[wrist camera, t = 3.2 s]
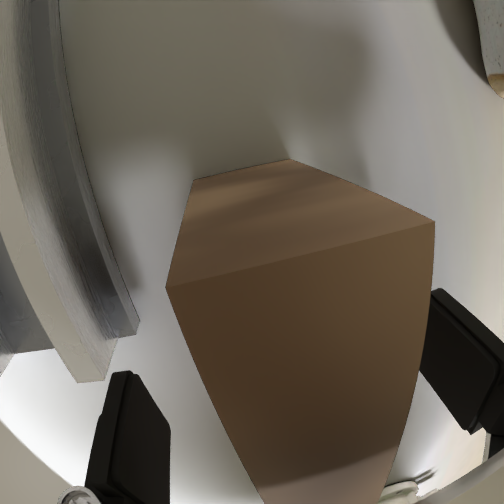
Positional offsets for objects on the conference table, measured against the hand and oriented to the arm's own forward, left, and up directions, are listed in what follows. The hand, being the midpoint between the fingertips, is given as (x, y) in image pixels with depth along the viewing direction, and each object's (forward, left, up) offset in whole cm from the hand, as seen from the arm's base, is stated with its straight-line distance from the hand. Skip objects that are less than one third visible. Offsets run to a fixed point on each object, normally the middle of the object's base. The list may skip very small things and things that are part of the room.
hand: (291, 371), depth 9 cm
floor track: (+10, -11, -4) cm, 15 cm away
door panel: (0, 0, -4) cm, 4 cm away
